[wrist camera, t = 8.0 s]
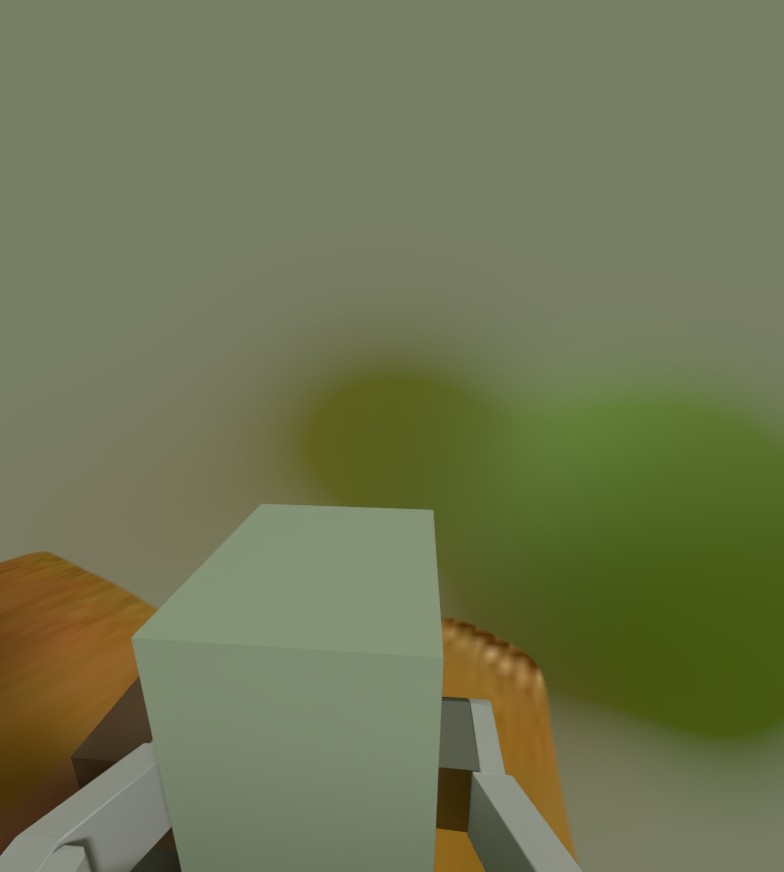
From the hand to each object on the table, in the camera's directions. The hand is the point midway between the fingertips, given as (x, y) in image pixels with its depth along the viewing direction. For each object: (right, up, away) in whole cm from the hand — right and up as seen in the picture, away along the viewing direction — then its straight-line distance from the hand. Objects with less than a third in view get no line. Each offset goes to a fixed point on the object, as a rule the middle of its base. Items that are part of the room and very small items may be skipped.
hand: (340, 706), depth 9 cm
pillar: (0, -7, +1) cm, 7 cm away
